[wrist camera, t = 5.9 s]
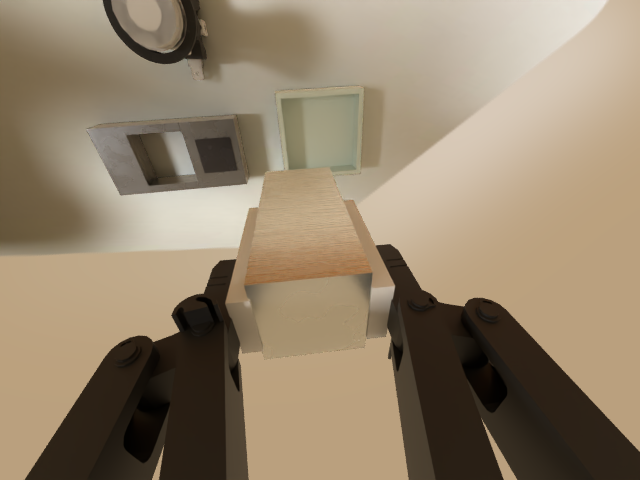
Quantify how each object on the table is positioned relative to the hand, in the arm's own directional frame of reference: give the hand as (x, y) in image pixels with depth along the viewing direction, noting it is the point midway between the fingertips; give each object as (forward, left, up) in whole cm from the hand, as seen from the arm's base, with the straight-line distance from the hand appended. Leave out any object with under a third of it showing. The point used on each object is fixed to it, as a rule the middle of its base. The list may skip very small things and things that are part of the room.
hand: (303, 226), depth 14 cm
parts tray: (+3, +1, -20) cm, 20 cm away
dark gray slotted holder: (-13, 0, -20) cm, 23 cm away
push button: (-8, +10, -20) cm, 24 cm away
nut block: (0, 0, -4) cm, 4 cm away
